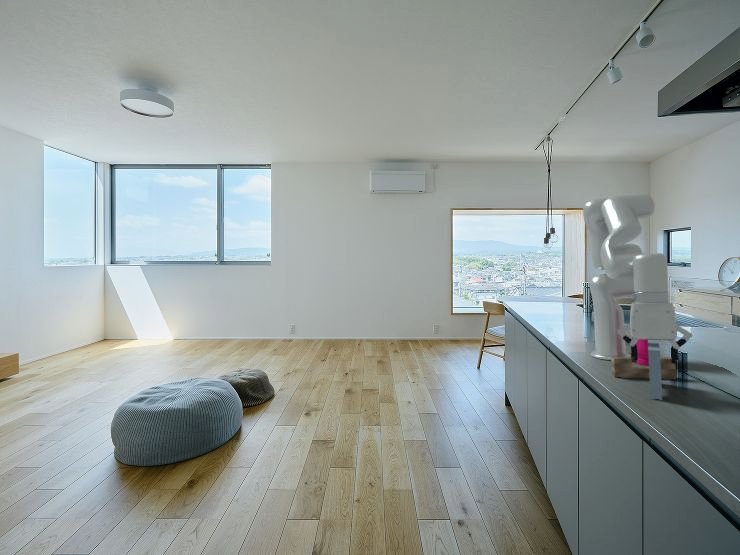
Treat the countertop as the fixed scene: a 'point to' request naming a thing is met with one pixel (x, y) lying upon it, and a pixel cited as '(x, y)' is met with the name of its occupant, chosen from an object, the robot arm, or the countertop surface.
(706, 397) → the countertop surface
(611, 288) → the robot arm
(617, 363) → the brown wooden u-shaped block
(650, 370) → the light blue flat board
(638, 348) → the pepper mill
